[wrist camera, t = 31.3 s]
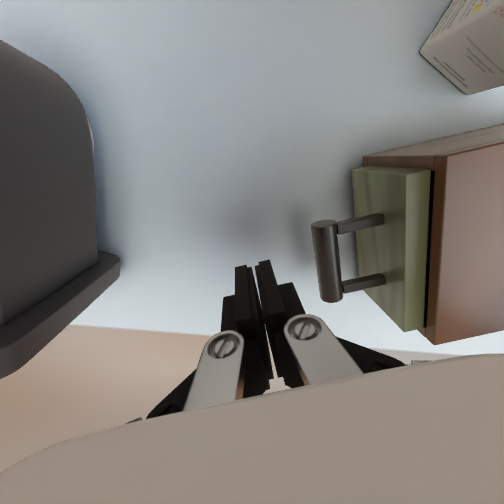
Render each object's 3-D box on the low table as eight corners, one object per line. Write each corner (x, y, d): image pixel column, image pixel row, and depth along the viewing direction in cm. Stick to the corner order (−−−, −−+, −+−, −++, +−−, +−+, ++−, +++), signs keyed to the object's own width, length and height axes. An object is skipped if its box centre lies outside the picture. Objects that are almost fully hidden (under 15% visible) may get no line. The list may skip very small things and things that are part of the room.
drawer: (309, 297, 20) (336, 347, 15) (292, 183, 17) (318, 194, 11) (486, 257, 20) (577, 294, 15) (503, 134, 17) (631, 122, 11)
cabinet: (368, 284, 21) (434, 346, 14) (362, 156, 17) (447, 154, 10) (501, 254, 21) (633, 302, 14) (523, 118, 17) (719, 92, 10)
